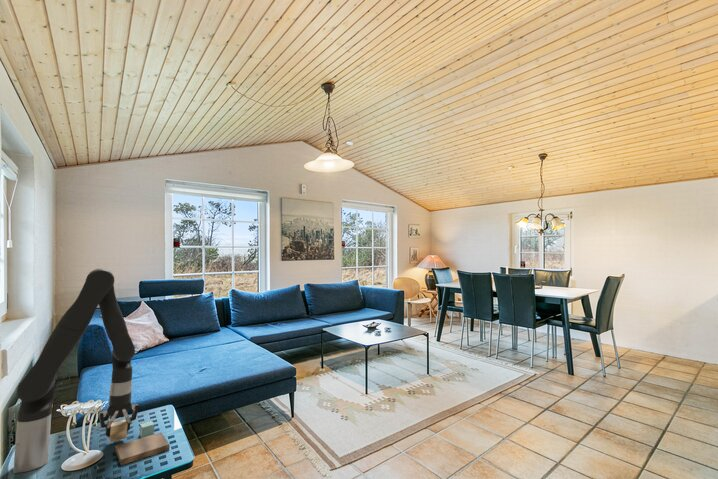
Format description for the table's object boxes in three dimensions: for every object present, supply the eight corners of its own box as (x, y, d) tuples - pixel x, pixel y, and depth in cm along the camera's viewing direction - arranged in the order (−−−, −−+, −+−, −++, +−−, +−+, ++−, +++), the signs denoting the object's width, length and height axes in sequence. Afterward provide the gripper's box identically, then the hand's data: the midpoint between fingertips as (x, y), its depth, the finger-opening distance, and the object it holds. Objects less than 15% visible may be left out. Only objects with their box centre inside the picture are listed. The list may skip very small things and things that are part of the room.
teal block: (141, 438, 144) (142, 427, 145) (139, 434, 148) (140, 424, 148) (153, 435, 147) (154, 424, 148) (151, 431, 151) (151, 420, 151)
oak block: (110, 442, 137) (111, 428, 138) (108, 437, 141) (109, 423, 142) (126, 437, 141) (127, 424, 141) (124, 433, 145) (125, 419, 145)
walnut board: (120, 465, 125) (121, 459, 125) (115, 451, 135) (115, 445, 135) (169, 449, 136) (169, 444, 136) (161, 437, 146) (161, 432, 146)
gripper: (100, 398, 135) (97, 443, 133) (142, 390, 145) (139, 432, 143) (98, 393, 140) (94, 436, 139) (138, 385, 150) (136, 425, 149)
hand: (117, 433), depth 141 cm, fingers closed on oak block, 5 cm apart
